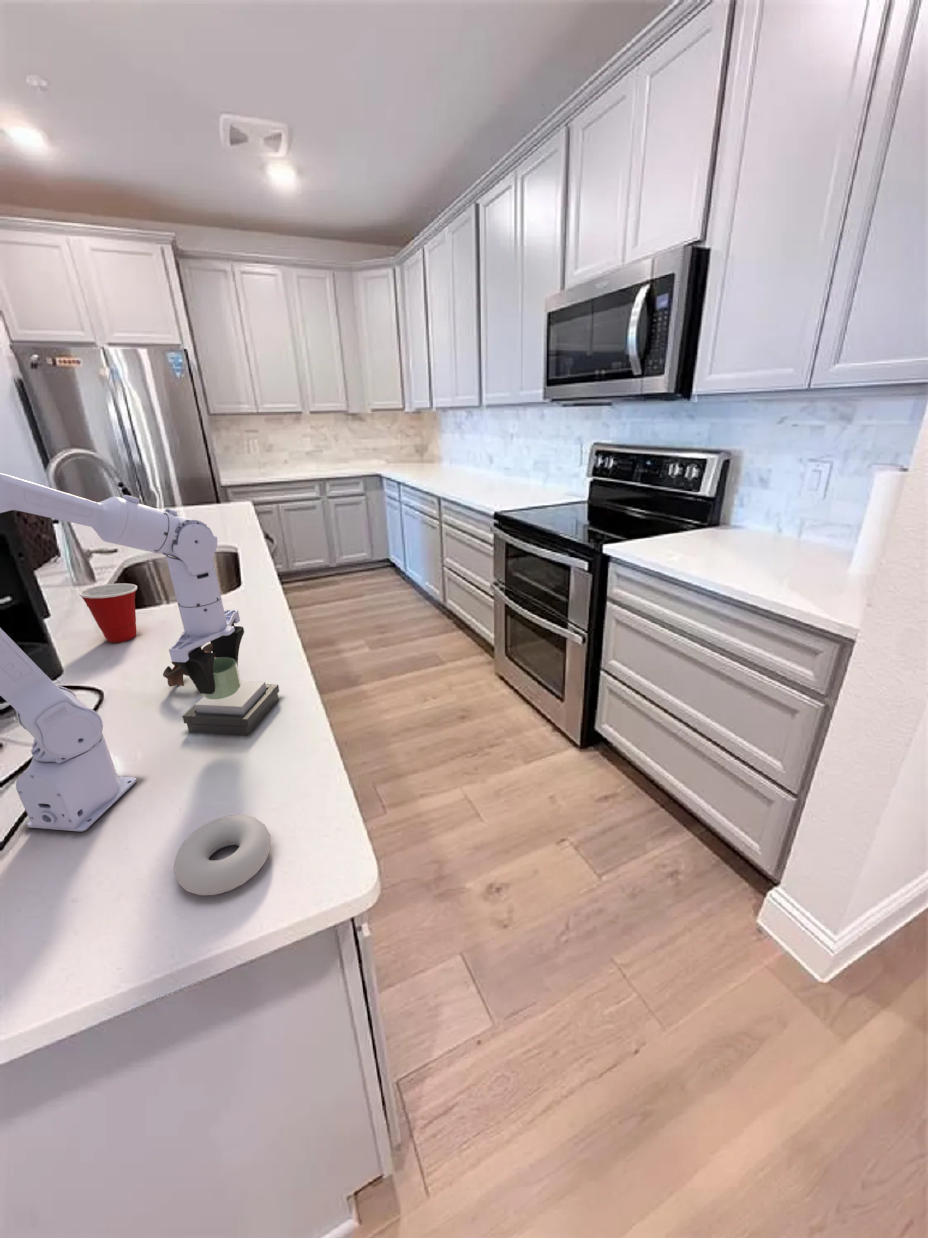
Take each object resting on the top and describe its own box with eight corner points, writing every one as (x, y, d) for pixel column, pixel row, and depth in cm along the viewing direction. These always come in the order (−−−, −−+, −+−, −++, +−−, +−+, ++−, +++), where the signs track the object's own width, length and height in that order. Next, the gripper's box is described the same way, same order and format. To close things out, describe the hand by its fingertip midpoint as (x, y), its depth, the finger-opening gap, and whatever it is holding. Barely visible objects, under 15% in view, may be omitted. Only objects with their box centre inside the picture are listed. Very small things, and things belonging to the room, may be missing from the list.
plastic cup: (160, 632, 118) (147, 583, 114) (113, 651, 110) (97, 599, 105) (131, 624, 123) (117, 577, 118) (84, 642, 114) (67, 592, 109)
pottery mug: (219, 699, 91) (184, 669, 87) (183, 714, 95) (148, 686, 90) (246, 654, 101) (215, 625, 97) (212, 669, 104) (182, 642, 100)
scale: (250, 735, 80) (246, 719, 79) (186, 732, 81) (181, 716, 80) (281, 698, 90) (278, 684, 89) (223, 696, 92) (220, 681, 90)
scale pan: (243, 716, 81) (241, 707, 80) (196, 713, 82) (194, 704, 81) (267, 690, 88) (265, 681, 87) (223, 688, 89) (221, 679, 88)
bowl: (228, 701, 76) (222, 675, 75) (193, 700, 77) (186, 674, 75) (248, 682, 82) (243, 657, 80) (214, 680, 82) (208, 656, 81)
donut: (280, 878, 56) (266, 818, 64) (275, 856, 54) (261, 796, 63) (178, 920, 52) (177, 849, 60) (170, 896, 50) (169, 827, 58)
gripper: (195, 620, 66) (216, 709, 72) (250, 584, 80) (265, 661, 85) (145, 619, 67) (170, 706, 73) (208, 583, 80) (226, 659, 86)
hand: (219, 682), depth 79 cm, fingers closed on bowl, 6 cm apart
